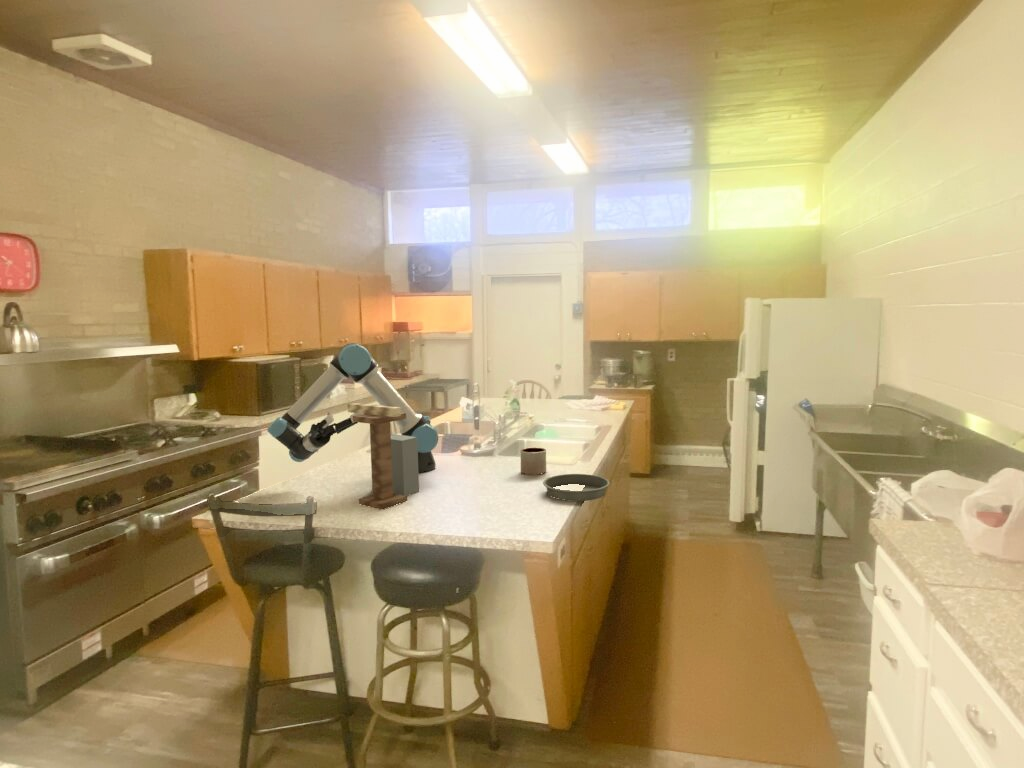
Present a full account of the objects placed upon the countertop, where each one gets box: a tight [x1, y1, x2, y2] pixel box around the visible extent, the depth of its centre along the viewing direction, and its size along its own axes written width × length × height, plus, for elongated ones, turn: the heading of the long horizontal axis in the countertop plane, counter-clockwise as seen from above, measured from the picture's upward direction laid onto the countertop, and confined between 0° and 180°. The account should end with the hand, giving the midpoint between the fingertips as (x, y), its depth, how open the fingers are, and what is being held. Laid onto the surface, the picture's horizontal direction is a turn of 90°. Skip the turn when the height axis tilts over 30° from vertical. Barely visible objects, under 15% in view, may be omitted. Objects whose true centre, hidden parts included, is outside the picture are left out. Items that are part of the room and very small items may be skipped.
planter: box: [520, 446, 547, 475], centre depth 278 cm, size 11×11×10 cm
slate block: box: [369, 433, 420, 496], centre depth 251 cm, size 17×8×21 cm, turn 54°
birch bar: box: [347, 402, 401, 417], centre depth 235 cm, size 24×3×3 cm, turn 54°
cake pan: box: [542, 473, 611, 502], centre depth 245 cm, size 25×25×4 cm
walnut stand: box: [353, 413, 408, 510], centre depth 235 cm, size 12×14×32 cm
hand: (347, 414), depth 242 cm, fingers open, 13 cm apart
